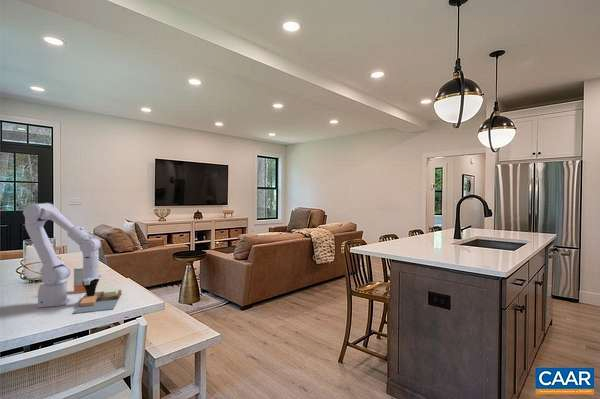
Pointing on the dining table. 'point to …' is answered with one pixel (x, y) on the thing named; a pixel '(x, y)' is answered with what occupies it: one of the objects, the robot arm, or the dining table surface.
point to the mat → (97, 307)
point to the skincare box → (78, 280)
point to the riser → (105, 298)
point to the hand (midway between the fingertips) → (90, 296)
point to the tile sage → (110, 292)
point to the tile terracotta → (88, 301)
